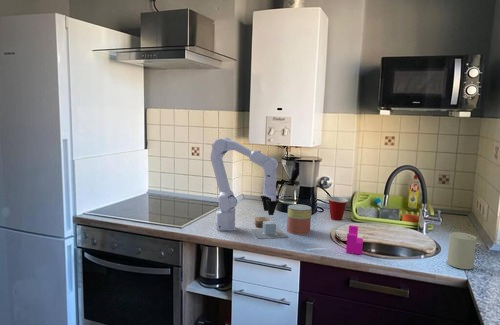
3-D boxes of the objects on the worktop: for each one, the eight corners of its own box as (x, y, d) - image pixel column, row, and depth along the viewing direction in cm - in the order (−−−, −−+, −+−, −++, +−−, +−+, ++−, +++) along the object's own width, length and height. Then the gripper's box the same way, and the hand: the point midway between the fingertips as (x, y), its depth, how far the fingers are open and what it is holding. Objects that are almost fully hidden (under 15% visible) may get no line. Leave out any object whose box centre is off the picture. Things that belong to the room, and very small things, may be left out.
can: (466, 271, 140) (470, 240, 138) (442, 263, 147) (445, 233, 146) (478, 266, 145) (481, 235, 144) (453, 258, 153) (456, 229, 151)
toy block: (361, 254, 154) (362, 236, 153) (346, 252, 156) (347, 234, 155) (362, 243, 168) (363, 226, 167) (348, 241, 170) (349, 225, 169)
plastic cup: (345, 223, 197) (346, 201, 196) (324, 221, 201) (326, 199, 200) (348, 218, 207) (349, 197, 206) (328, 216, 211) (329, 195, 210)
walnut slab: (255, 227, 187) (256, 220, 186) (254, 223, 194) (254, 217, 193) (269, 227, 187) (270, 221, 187) (268, 223, 194) (268, 217, 194)
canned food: (314, 231, 183) (315, 207, 182) (303, 236, 174) (304, 211, 173) (294, 226, 190) (295, 203, 188) (282, 231, 181) (283, 207, 179)
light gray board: (258, 238, 169) (258, 238, 169) (251, 229, 183) (251, 229, 183) (288, 237, 173) (288, 236, 173) (278, 228, 186) (278, 227, 186)
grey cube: (265, 234, 175) (265, 224, 174) (262, 231, 179) (262, 221, 179) (275, 234, 176) (276, 223, 175) (272, 231, 181) (272, 220, 180)
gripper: (283, 187, 169) (281, 216, 171) (273, 181, 183) (272, 208, 184) (267, 187, 167) (266, 217, 169) (259, 181, 181) (258, 209, 183)
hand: (268, 212), depth 177 cm, fingers open, 7 cm apart
